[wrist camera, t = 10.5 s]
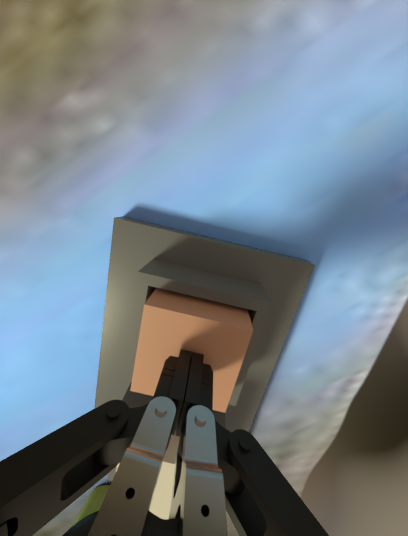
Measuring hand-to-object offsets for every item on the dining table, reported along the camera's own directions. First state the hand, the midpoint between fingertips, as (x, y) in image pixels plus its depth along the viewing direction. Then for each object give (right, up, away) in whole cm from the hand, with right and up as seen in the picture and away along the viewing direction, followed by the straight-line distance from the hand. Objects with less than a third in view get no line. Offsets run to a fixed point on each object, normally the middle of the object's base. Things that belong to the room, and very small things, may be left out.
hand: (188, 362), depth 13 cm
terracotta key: (0, +1, +3) cm, 3 cm away
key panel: (-1, -4, +8) cm, 9 cm away
